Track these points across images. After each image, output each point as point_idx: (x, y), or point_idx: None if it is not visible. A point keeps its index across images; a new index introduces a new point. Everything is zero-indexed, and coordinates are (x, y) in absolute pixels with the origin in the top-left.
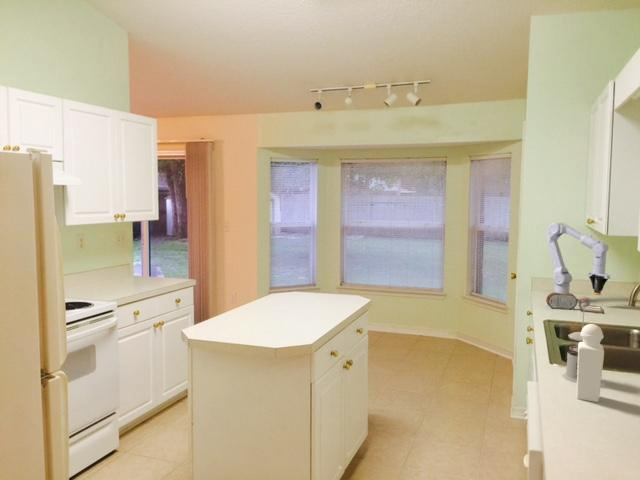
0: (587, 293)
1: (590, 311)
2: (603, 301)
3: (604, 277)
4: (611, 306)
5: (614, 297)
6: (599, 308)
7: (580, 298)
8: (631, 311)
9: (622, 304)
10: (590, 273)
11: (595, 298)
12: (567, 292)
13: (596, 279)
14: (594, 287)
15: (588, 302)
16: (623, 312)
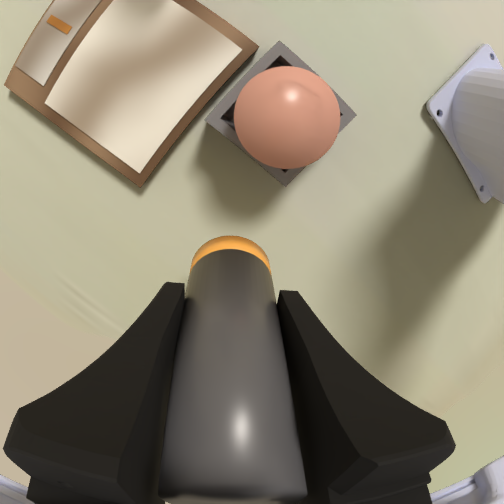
0: (470, 378)
1: (51, 6)
2: None
3: (12, 492)
4: None
5: None
6: (95, 131)
7: (302, 70)
8: (78, 322)
9: None
10: (471, 497)
11: (411, 363)
12: (500, 129)
13: (210, 448)
14: (254, 301)
15: (213, 109)
16: (45, 259)
